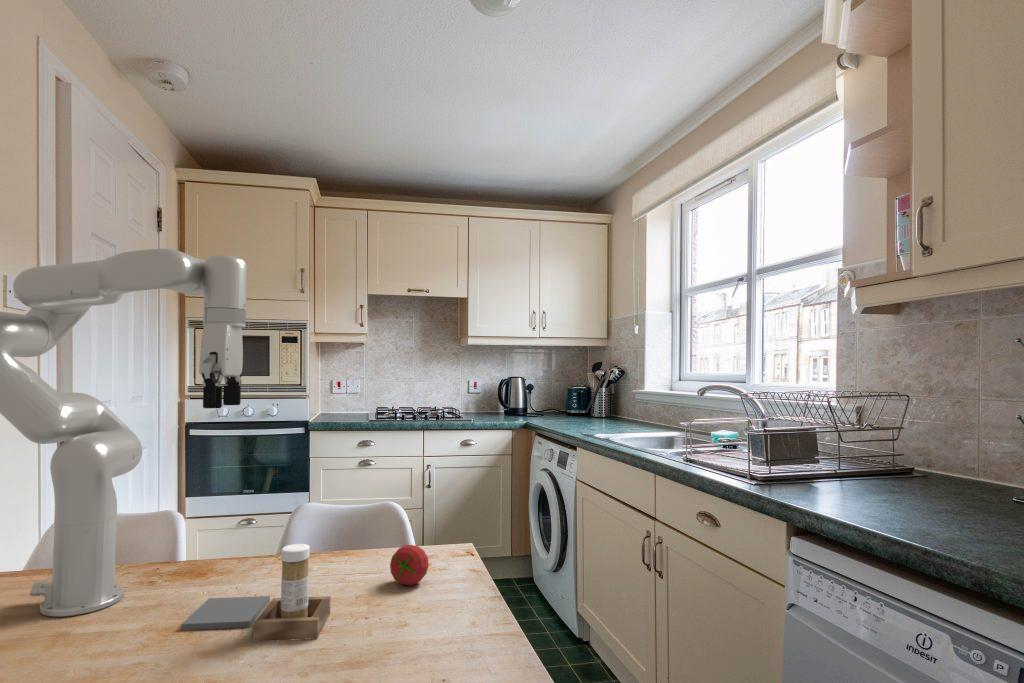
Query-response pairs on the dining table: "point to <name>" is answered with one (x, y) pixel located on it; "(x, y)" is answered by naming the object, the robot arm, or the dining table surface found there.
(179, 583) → the dining table surface
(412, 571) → the tomato
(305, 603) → the spice jar
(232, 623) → the mat
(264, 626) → the brown wooden square tray
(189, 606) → the dining table surface
